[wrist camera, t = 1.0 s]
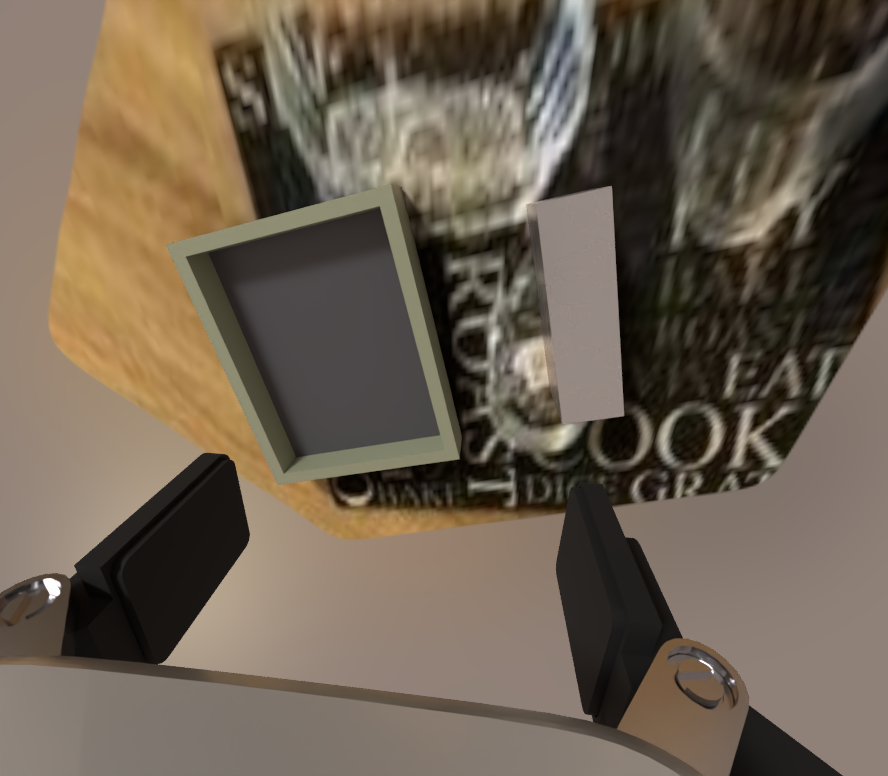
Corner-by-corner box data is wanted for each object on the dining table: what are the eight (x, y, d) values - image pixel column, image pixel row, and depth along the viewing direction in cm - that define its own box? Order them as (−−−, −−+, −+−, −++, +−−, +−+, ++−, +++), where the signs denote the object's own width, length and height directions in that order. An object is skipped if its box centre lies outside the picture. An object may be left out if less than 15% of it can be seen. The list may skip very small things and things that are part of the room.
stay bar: (586, 190, 27) (611, 185, 22) (600, 380, 32) (624, 416, 27) (526, 204, 28) (535, 203, 22) (549, 388, 33) (562, 424, 28)
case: (401, 186, 28) (390, 184, 25) (461, 436, 35) (459, 459, 32) (199, 240, 31) (165, 244, 28) (294, 461, 38) (277, 484, 35)
